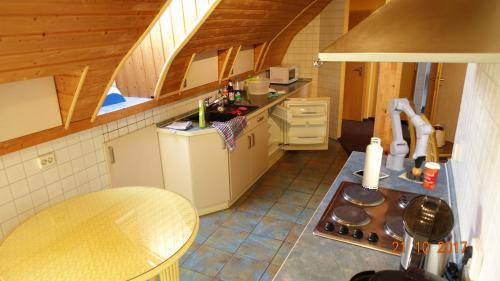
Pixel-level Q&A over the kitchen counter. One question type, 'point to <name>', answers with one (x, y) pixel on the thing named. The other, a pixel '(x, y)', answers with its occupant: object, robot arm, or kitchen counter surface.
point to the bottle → (372, 164)
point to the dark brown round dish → (414, 176)
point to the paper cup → (430, 175)
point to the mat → (406, 178)
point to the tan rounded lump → (417, 171)
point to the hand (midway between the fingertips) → (417, 167)
